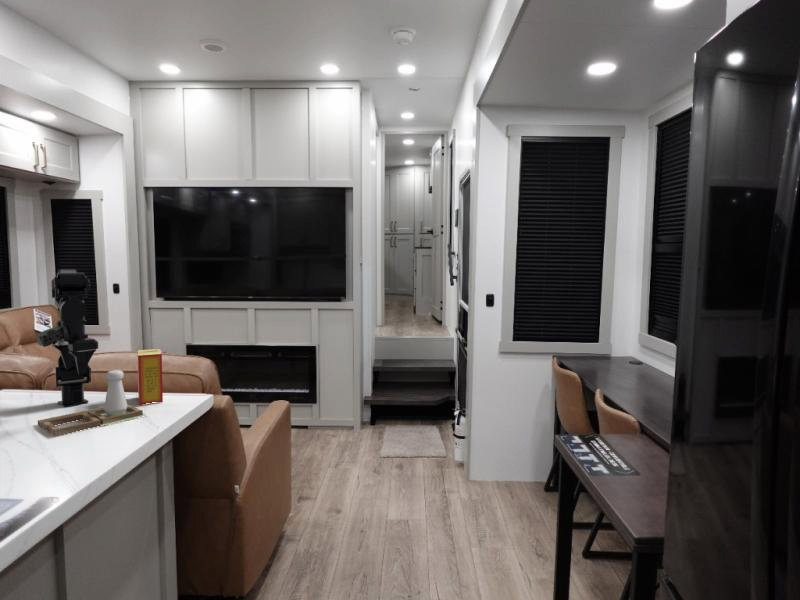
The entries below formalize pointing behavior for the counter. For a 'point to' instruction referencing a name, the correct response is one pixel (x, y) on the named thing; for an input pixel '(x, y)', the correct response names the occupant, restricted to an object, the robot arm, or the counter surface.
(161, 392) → the baking soda box
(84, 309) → the robot arm
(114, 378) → the salt shaker
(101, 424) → the card
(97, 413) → the frame
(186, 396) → the counter surface
